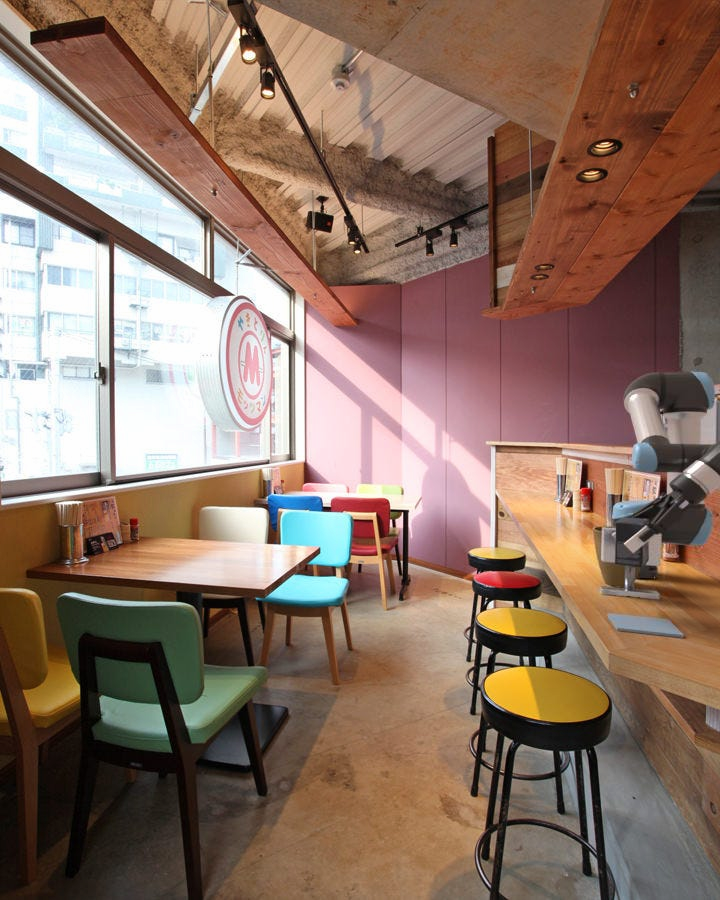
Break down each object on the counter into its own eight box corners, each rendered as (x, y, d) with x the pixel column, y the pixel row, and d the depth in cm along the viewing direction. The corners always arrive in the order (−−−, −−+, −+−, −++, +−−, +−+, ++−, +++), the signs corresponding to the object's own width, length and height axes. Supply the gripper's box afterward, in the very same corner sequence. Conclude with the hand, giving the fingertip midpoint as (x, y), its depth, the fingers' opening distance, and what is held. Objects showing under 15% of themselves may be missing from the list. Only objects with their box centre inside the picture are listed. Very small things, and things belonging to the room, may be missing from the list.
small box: (620, 556, 129) (621, 516, 128) (649, 560, 125) (650, 518, 125) (612, 564, 120) (614, 520, 120) (643, 568, 116) (645, 523, 116)
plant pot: (588, 586, 144) (590, 531, 144) (593, 575, 157) (595, 524, 157) (648, 595, 137) (650, 537, 136) (648, 582, 149) (650, 529, 149)
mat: (607, 615, 119) (607, 613, 119) (668, 621, 116) (668, 619, 116) (617, 630, 110) (617, 627, 110) (684, 637, 106) (684, 635, 106)
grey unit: (599, 590, 140) (601, 526, 140) (655, 595, 136) (657, 530, 136) (602, 594, 137) (604, 528, 136) (659, 599, 133) (661, 532, 133)
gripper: (730, 501, 106) (648, 566, 111) (688, 491, 130) (621, 545, 134) (702, 475, 108) (622, 540, 112) (665, 470, 131) (600, 524, 135)
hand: (621, 543), depth 123 cm, fingers closed on small box, 12 cm apart
